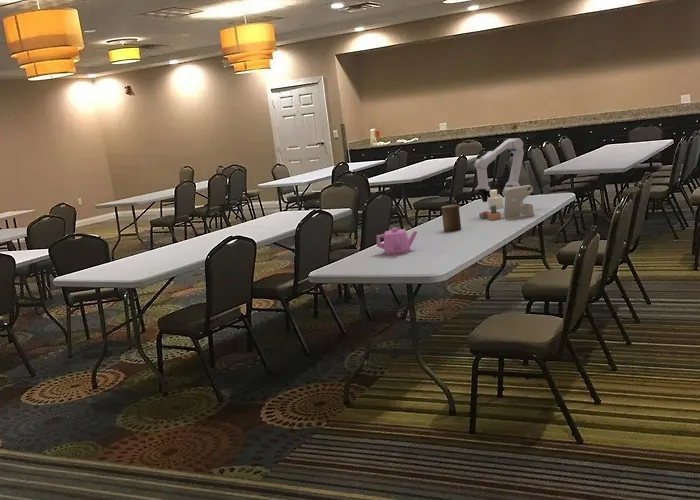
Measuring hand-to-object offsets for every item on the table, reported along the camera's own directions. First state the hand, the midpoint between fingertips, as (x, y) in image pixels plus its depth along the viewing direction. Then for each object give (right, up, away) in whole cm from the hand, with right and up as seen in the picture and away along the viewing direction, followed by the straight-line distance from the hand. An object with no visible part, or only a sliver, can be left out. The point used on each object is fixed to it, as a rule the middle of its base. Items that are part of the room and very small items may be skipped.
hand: (485, 201), depth 431 cm
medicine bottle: (+13, -2, +32) cm, 35 cm away
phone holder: (+17, -10, -12) cm, 23 cm away
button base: (0, -10, 0) cm, 10 cm away
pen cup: (+4, -11, -10) cm, 15 cm away
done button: (0, -9, 0) cm, 9 cm away
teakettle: (-56, -30, -67) cm, 92 cm away
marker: (+3, -10, -10) cm, 15 cm away
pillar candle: (-23, -18, -26) cm, 39 cm away
